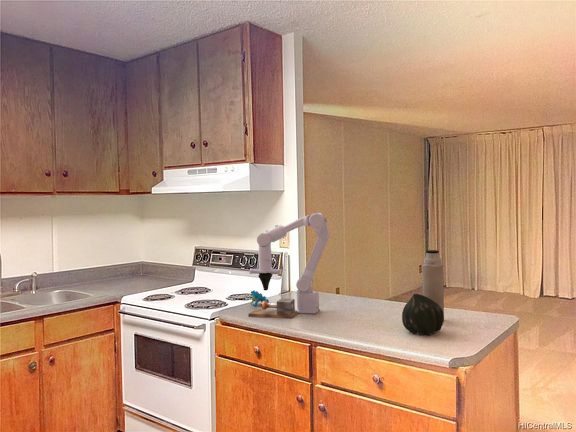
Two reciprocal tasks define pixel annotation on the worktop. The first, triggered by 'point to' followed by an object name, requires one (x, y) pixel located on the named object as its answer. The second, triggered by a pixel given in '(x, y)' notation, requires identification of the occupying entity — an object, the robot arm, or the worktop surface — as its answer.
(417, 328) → the squash
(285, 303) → the bearing stand
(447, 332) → the worktop surface
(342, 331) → the worktop surface
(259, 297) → the gear
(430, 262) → the thermos bottle
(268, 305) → the shaft
